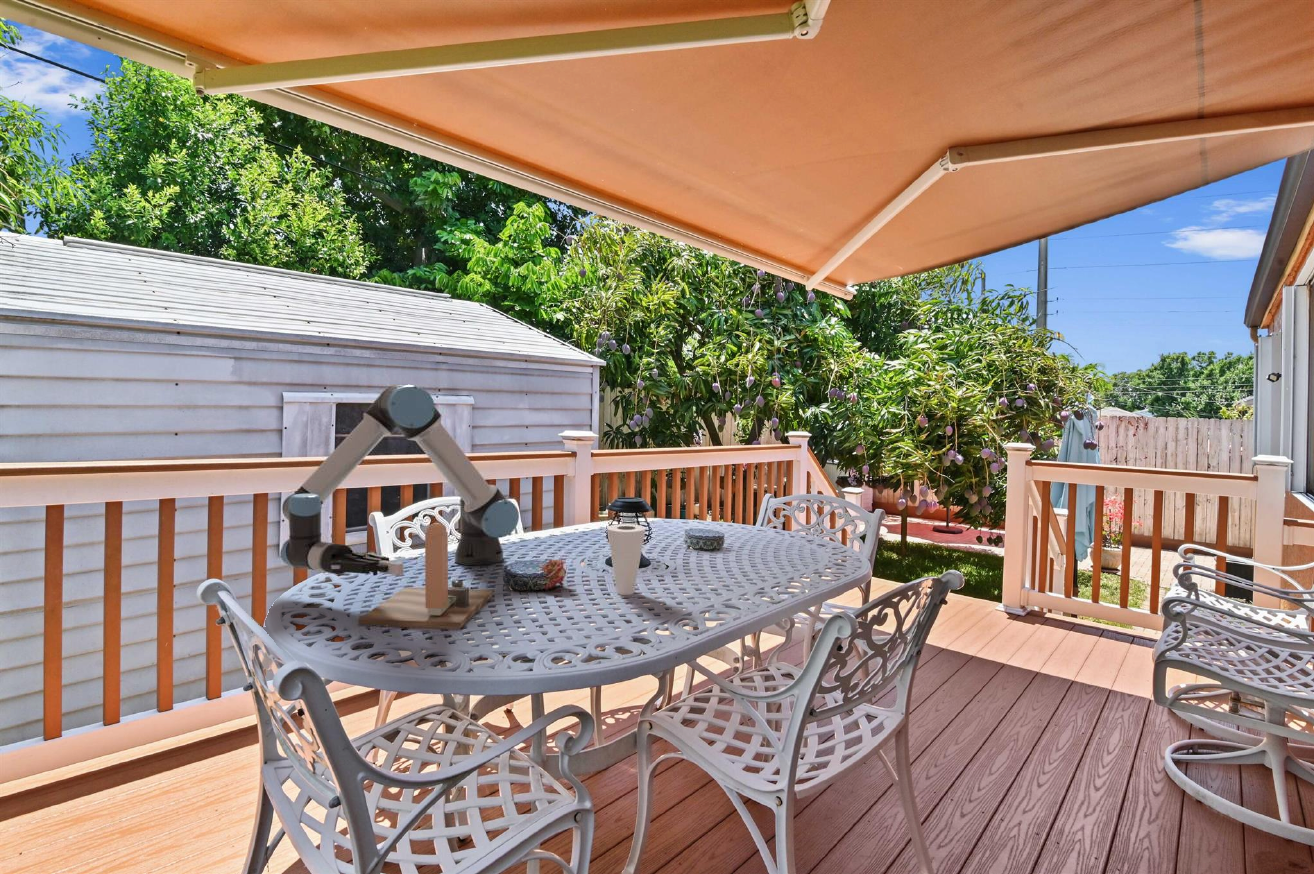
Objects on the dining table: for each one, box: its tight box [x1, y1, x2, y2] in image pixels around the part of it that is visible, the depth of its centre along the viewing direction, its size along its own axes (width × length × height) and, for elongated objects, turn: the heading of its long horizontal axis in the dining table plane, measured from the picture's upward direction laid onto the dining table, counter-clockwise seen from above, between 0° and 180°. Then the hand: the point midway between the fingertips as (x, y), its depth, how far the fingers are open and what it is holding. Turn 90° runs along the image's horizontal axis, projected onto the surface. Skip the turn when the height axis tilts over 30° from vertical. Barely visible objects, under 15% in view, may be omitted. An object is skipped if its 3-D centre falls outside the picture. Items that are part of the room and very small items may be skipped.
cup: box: [606, 523, 647, 596], centre depth 188 cm, size 11×11×18 cm
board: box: [358, 586, 494, 630], centre depth 172 cm, size 26×24×2 cm
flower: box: [539, 557, 568, 591], centre depth 192 cm, size 10×9×8 cm
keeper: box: [448, 579, 470, 608], centre depth 175 cm, size 12×9×4 cm
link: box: [424, 522, 467, 615], centre depth 170 cm, size 20×5×22 cm, turn 179°
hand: (400, 569), depth 167 cm, fingers closed
